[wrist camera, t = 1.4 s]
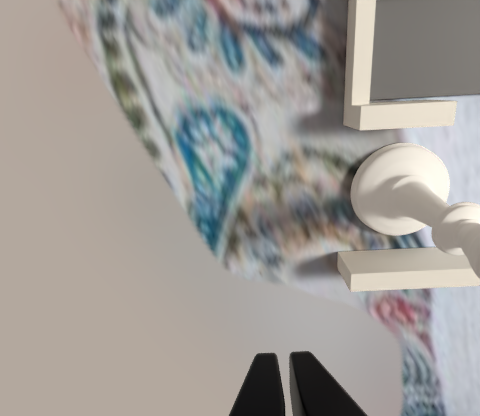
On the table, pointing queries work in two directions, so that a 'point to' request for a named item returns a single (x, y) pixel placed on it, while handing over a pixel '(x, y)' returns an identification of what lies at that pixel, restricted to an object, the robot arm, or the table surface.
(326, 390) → the robot arm
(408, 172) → the chess piece
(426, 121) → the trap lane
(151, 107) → the table surface
